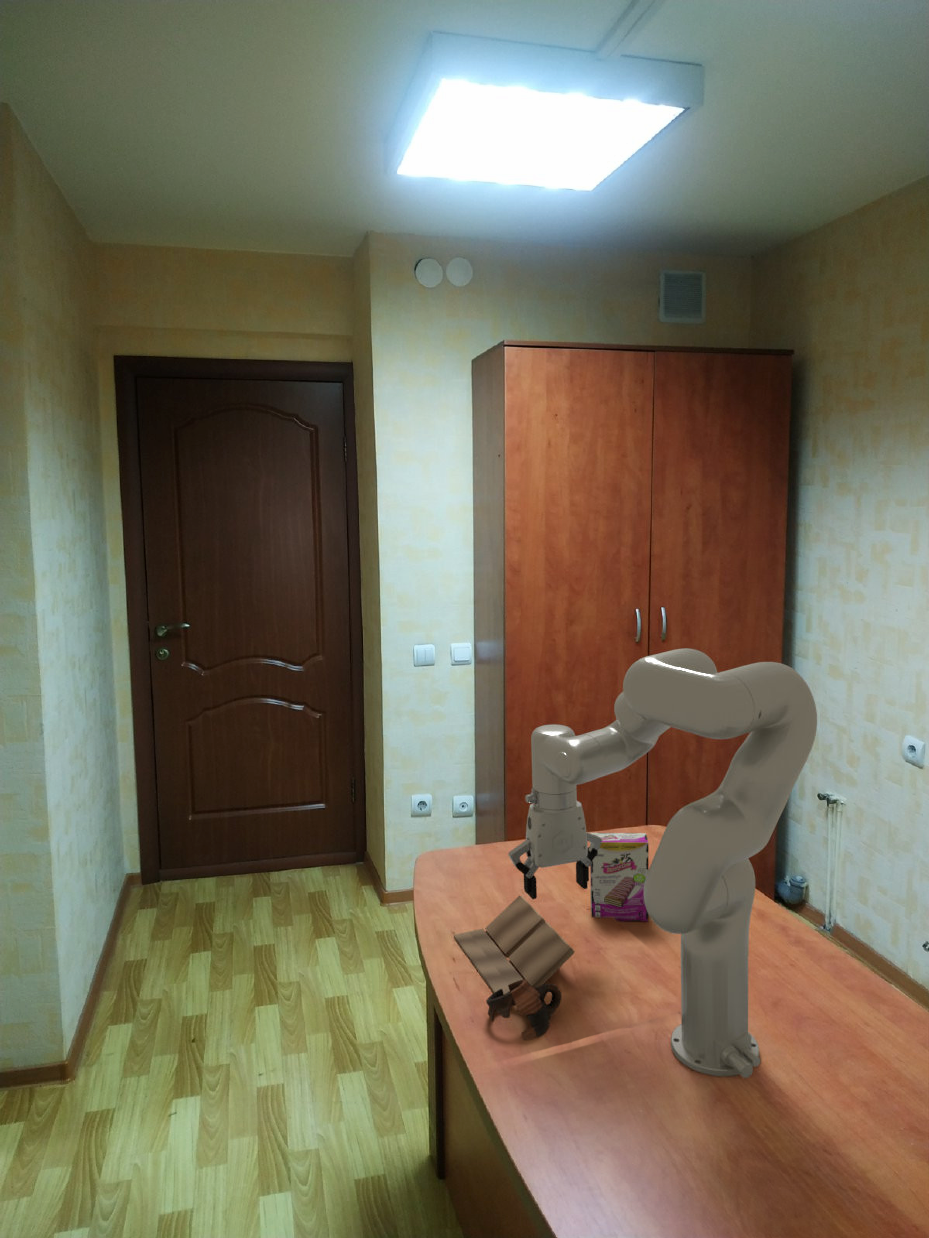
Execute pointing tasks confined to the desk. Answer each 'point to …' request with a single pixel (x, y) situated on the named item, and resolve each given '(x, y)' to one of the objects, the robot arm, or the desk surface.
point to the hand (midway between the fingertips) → (556, 890)
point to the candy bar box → (620, 877)
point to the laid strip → (488, 960)
